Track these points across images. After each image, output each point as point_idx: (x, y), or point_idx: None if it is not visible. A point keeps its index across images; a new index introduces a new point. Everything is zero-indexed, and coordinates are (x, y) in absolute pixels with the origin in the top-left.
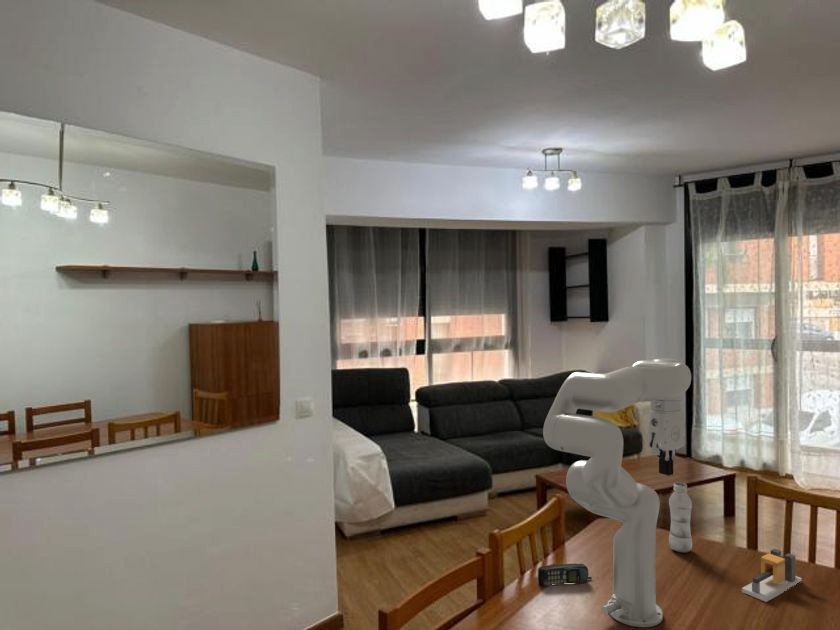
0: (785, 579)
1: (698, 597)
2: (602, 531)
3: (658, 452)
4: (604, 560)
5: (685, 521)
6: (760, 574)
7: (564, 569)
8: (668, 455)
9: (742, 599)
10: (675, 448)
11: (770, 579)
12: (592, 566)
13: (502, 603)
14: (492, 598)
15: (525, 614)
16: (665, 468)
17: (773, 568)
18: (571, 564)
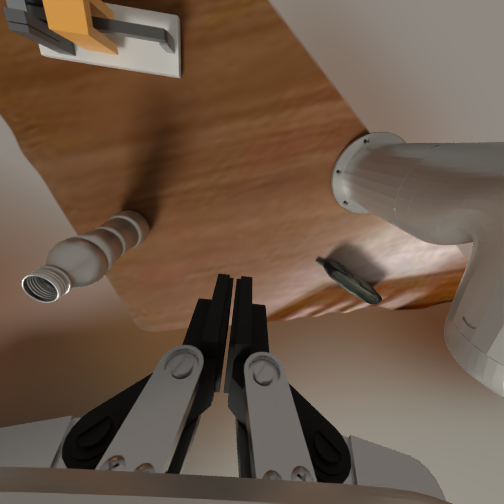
0: None
1: (257, 128)
2: (181, 316)
3: (384, 480)
4: (254, 275)
5: (108, 232)
6: (134, 33)
7: (359, 283)
8: (257, 399)
9: (206, 64)
10: (203, 494)
11: None
12: (281, 276)
13: (433, 290)
14: (427, 302)
15: (444, 262)
16: (265, 316)
17: (93, 3)
18: (348, 284)
